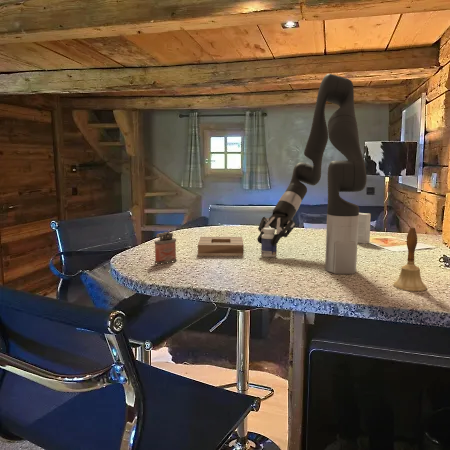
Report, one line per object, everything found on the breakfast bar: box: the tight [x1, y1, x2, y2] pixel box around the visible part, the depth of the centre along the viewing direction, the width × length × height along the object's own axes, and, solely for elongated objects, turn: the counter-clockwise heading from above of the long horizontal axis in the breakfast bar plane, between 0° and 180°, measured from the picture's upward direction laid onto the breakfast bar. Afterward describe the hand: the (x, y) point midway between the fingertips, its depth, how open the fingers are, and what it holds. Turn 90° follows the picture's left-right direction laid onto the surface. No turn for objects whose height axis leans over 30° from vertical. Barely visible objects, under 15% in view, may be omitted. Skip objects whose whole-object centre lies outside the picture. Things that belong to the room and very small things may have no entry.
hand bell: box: [392, 227, 428, 292], centre depth 113 cm, size 8×8×16 cm
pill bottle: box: [260, 227, 278, 258], centre depth 150 cm, size 5×5×10 cm
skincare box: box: [357, 212, 372, 245], centre depth 175 cm, size 6×4×12 cm
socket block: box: [197, 236, 245, 257], centre depth 158 cm, size 16×16×4 cm
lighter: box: [154, 231, 177, 265], centre depth 140 cm, size 8×3×10 cm, turn 134°
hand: (265, 243), depth 149 cm, fingers closed on pill bottle, 5 cm apart
